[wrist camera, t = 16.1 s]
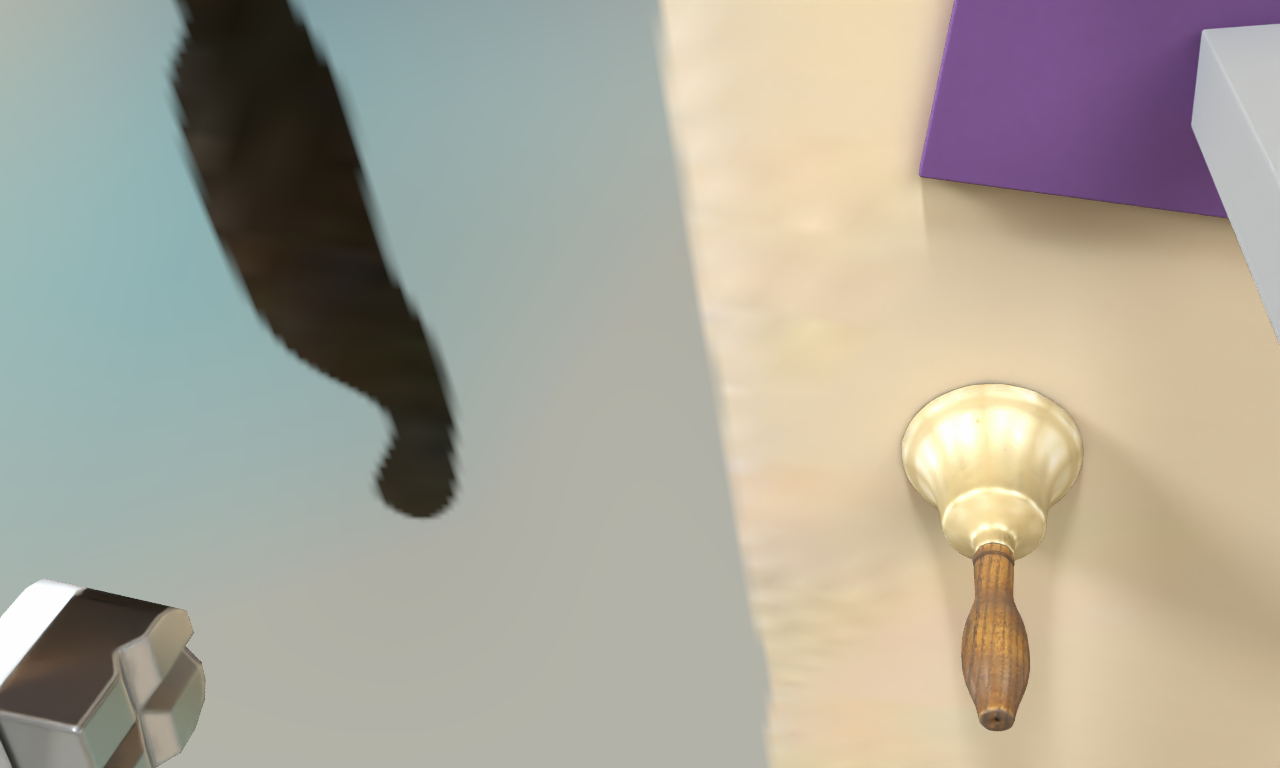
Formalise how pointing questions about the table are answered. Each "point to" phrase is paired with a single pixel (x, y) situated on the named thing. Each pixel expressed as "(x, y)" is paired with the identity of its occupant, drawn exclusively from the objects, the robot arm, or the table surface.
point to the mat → (1079, 98)
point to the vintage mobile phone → (1245, 143)
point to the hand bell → (993, 514)
